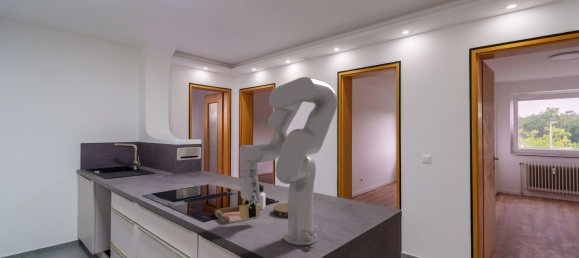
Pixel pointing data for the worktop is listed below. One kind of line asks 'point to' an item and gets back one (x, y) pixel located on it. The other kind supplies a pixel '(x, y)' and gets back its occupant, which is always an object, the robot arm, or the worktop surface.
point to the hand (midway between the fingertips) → (249, 215)
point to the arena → (229, 214)
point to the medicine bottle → (261, 197)
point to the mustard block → (245, 211)
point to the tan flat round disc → (281, 210)
